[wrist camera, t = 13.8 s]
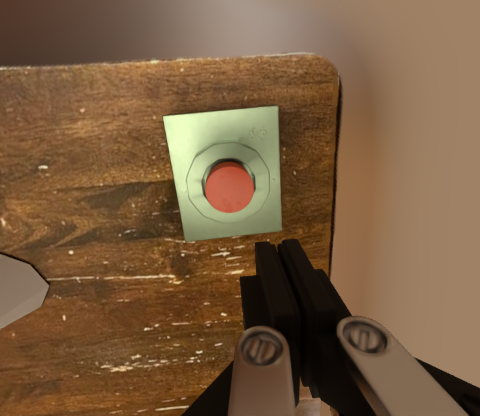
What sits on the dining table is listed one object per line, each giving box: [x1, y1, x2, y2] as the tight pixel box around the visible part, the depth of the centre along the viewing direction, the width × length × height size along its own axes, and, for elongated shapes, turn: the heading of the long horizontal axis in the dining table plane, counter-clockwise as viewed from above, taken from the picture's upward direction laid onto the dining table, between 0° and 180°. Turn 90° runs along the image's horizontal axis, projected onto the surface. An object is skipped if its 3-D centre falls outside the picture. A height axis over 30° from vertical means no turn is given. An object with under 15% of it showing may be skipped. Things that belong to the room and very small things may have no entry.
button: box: [205, 162, 254, 213], centre depth 20 cm, size 4×4×2 cm
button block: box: [162, 105, 282, 242], centre depth 22 cm, size 11×9×4 cm
